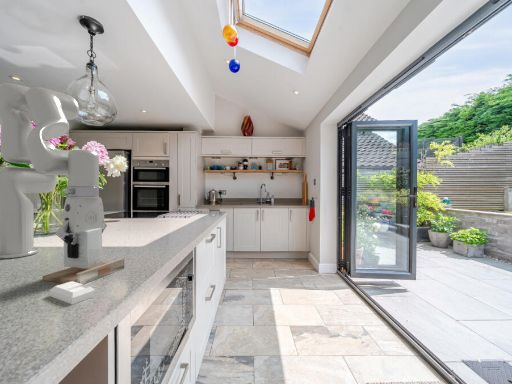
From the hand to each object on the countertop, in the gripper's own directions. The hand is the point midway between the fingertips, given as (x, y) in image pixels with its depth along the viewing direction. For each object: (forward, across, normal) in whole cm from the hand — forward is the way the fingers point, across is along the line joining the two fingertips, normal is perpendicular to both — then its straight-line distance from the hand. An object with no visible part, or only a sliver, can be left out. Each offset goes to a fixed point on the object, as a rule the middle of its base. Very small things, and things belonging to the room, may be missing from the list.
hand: (83, 254), depth 76 cm
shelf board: (+6, 0, -1) cm, 6 cm away
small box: (+3, 0, 0) cm, 3 cm away
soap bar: (+6, -13, -12) cm, 18 cm away
